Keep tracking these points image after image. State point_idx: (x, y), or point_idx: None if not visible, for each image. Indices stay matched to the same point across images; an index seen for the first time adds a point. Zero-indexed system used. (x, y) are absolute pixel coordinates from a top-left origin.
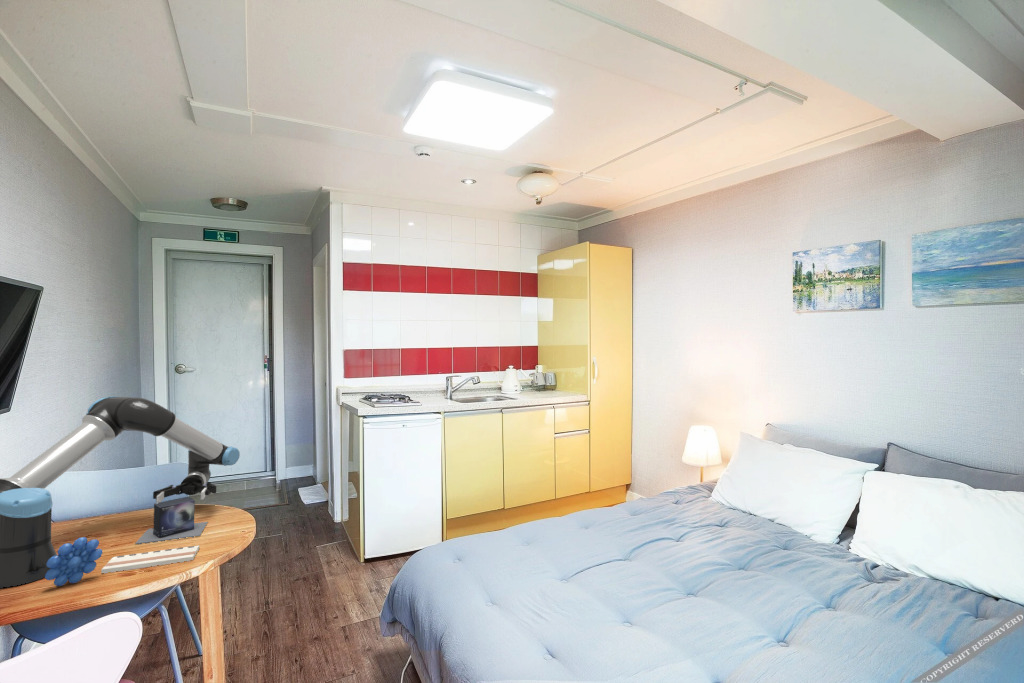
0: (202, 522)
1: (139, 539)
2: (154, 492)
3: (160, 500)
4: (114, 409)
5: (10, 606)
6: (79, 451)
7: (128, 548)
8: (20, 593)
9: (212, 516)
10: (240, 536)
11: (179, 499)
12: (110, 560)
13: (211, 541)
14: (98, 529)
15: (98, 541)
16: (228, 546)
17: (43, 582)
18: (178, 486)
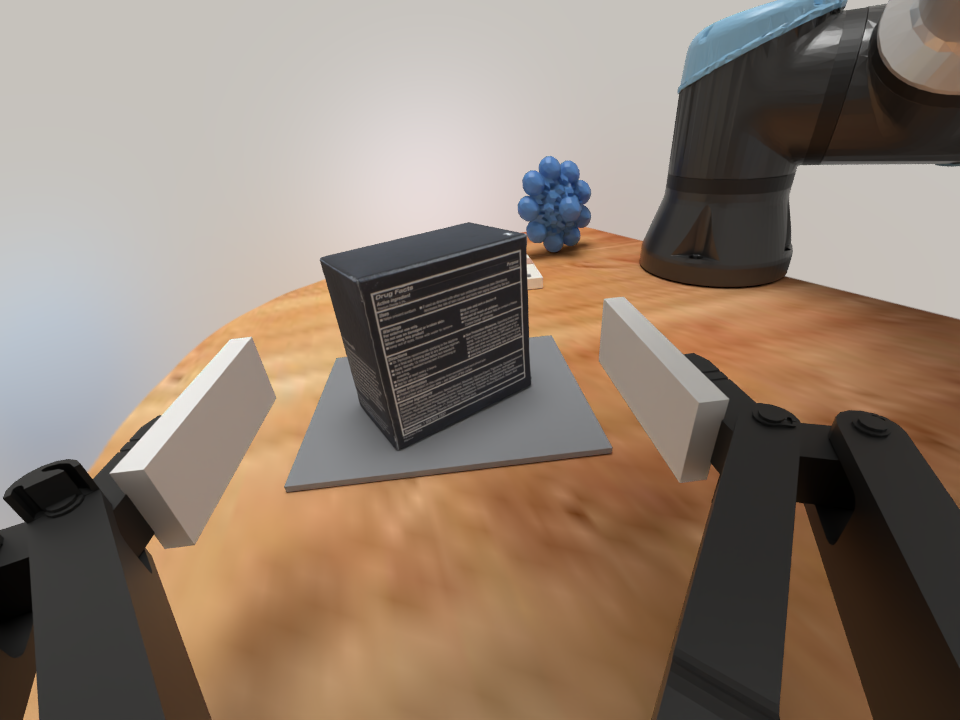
0: (316, 479)
1: (559, 356)
2: (846, 412)
3: (618, 372)
4: None
5: (598, 230)
6: None
7: (555, 326)
8: (625, 242)
9: (225, 633)
10: (209, 349)
11: (403, 253)
12: (536, 269)
13: (304, 334)
14: None
15: (524, 179)
16: (266, 312)
17: (622, 254)
18: (668, 671)
